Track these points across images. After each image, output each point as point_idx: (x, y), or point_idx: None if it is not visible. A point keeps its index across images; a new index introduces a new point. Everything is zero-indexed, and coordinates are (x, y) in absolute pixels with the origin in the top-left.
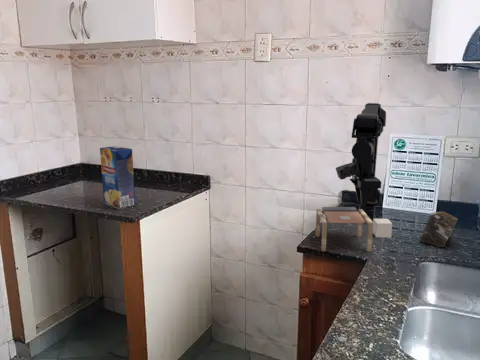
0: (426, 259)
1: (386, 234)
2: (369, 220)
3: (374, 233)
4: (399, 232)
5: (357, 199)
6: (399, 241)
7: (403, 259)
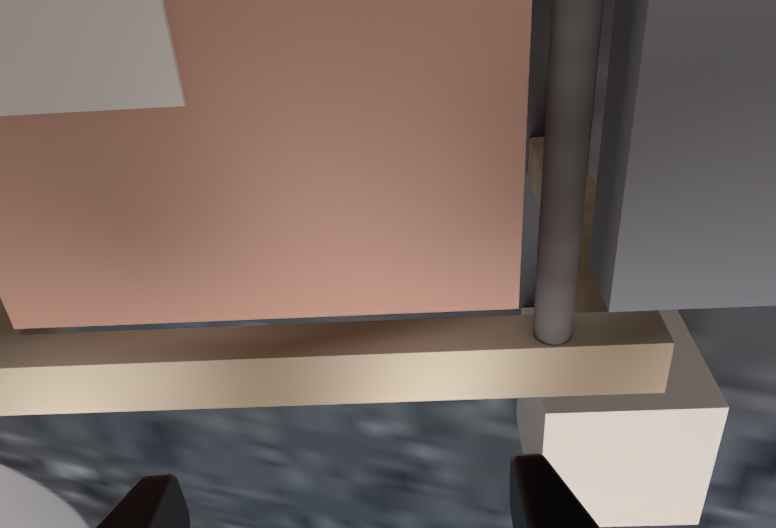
0: (79, 514)
1: (521, 403)
2: (50, 389)
3: None
4: None
5: (534, 487)
6: (419, 449)
7: None
